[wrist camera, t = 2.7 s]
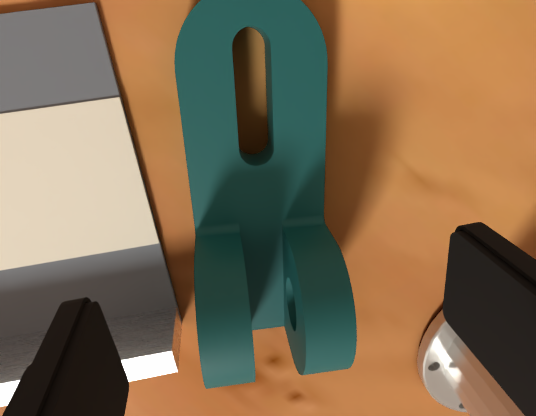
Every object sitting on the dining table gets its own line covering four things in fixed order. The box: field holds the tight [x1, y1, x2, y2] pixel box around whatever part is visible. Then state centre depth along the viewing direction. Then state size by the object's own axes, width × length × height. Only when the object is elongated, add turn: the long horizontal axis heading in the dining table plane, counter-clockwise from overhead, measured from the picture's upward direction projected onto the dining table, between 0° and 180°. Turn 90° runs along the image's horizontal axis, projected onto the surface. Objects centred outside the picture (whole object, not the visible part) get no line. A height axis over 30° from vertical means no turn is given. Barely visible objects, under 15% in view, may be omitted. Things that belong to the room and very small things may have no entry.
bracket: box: [175, 0, 357, 389], centre depth 18 cm, size 18×7×8 cm, turn 2°
